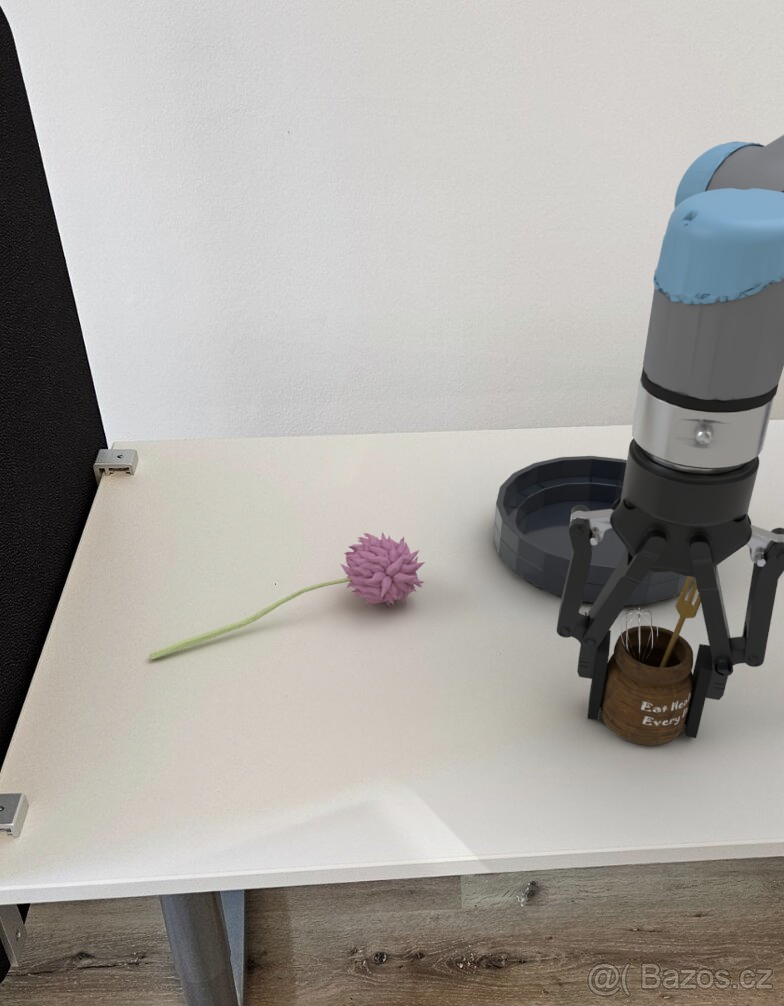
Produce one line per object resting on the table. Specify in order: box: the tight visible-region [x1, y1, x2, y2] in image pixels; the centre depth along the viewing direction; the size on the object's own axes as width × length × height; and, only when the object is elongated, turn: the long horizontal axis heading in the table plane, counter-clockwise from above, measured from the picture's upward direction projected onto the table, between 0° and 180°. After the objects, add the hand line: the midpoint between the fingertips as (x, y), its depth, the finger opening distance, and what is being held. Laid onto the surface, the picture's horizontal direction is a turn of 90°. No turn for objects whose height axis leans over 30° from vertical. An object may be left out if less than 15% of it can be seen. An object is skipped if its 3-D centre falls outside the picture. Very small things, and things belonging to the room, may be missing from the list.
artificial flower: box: [148, 531, 426, 661], centre depth 91 cm, size 7×7×25 cm
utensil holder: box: [599, 576, 701, 746], centre depth 76 cm, size 6×6×12 cm
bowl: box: [492, 455, 696, 606], centre depth 97 cm, size 18×18×4 cm
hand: (641, 715), depth 80 cm, fingers closed on utensil holder, 6 cm apart
